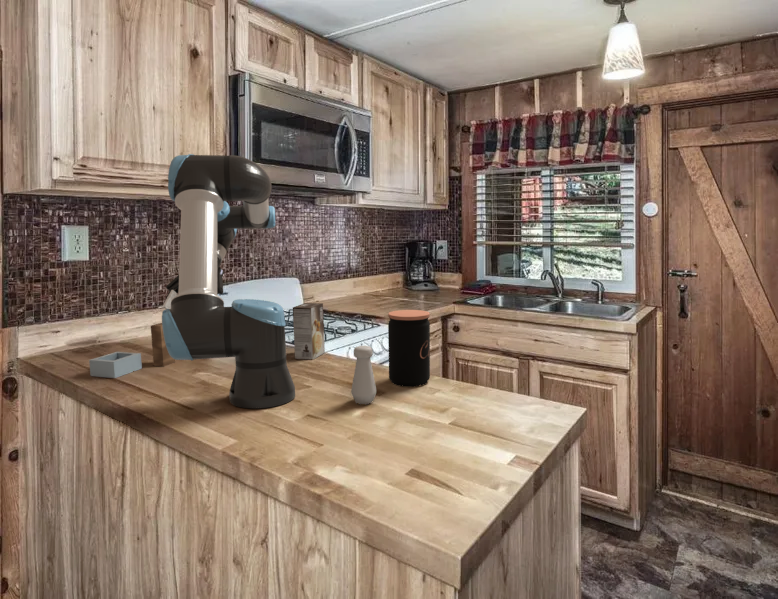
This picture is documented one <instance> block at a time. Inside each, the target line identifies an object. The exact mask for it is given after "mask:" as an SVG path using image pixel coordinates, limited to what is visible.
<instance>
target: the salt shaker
mask: <svg viewBox="0 0 778 599" xmlns="http://www.w3.org/2000/svg"><path fill="white" fill-rule="evenodd" d="M373 354H374V353H373V348H372V347H371V346H369V345H358V346H356V347H354V348H353V357H355V358H356V359H355V360H356V361H355V368H354V373H353V379H352V385H351V390H350V394H351V396H352V398H353V400H354V402H355V404H357V403H359V404H358V405H361V404H365V405H370V404H369V403H371V402H372V401H373V402H374V400H375V397H376V394H377V387H376V381H375V376H374V371H373V366H372V361H371V358H372V357H373ZM373 402H372V403H373ZM372 403H371V404H372Z"/></svg>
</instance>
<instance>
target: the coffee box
mask: <svg viewBox="0 0 778 599" xmlns="http://www.w3.org/2000/svg"><path fill="white" fill-rule="evenodd" d="M292 323H293V324H292V325H293V338H294V339H293V343H294V345H293V346H294V359H297V360H311V359H313V360H315V359H317V358H318V357H319V356H321V355H323V354H325V353H326V351H325V350H326V348H325V324H324V323H325V322H324V303H322V302H321V303H320V302H319V303H317V302H313V303H312V302H304V303H302V304H298V305H295V306H294V307H292Z"/></svg>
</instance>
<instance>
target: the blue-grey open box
mask: <svg viewBox="0 0 778 599" xmlns="http://www.w3.org/2000/svg"><path fill="white" fill-rule="evenodd" d="M88 362H89V364H88V365H89V373H90V374H89V375H90V376H91V377H97V378H98V377H100V378H110V379H117V378H119V377H122V376H125V375H128V374H130V373H133V371H134V372H136V371H139V370H142V369H143V364H142V353H141V352H131V351H130V352H127V351H115V352H112V353H109V354H105V355H101V356H98V357H95V358H90V359H89V360H88Z"/></svg>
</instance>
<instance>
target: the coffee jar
mask: <svg viewBox="0 0 778 599" xmlns="http://www.w3.org/2000/svg"><path fill="white" fill-rule="evenodd" d="M387 315H388V318H389V321H388V325H387V326H388V327H387V330H388V335H387V336H388V338H387V339H388V340H387V341H388V378H389V380H390V382H391V383H392V385H395V386H399V387H406V388H413V387H414V386H415V387H420V386H419V385H421V386H424V385H426V384H427V383H428V381H429V380H430V377H431V334H430V331H431V323H430V320H428V319H429V318H430V317H431V316H430V315H431V314H430V312H429V311H426V310H420V309H399V310H398V309H397V310H392V311H389V312H388V314H387ZM423 384H424V385H423Z"/></svg>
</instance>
